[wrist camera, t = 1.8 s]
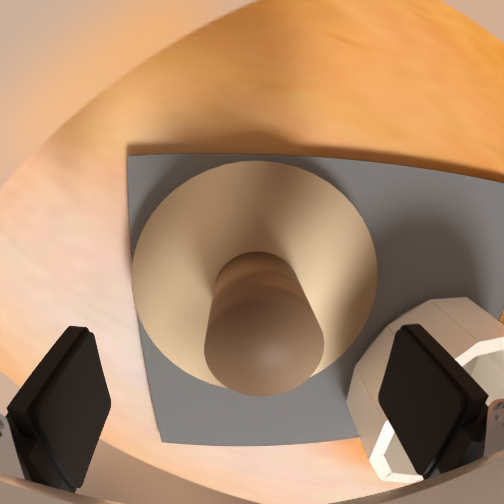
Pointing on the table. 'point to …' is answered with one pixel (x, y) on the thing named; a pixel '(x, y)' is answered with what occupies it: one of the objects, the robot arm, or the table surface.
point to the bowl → (454, 342)
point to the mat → (385, 302)
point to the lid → (254, 276)
